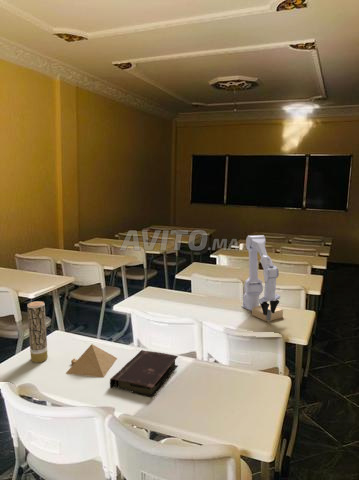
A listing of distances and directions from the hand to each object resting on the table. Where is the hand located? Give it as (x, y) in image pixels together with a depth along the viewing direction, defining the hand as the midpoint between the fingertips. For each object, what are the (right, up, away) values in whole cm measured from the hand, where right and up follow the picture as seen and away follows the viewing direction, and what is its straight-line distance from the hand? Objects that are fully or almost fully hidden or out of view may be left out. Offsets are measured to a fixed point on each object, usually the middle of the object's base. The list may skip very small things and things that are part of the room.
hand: (268, 313), depth 207 cm
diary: (-61, -15, -54) cm, 83 cm away
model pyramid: (-85, -13, -46) cm, 97 cm away
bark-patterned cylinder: (-108, -12, -42) cm, 117 cm away
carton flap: (-3, -4, +5) cm, 7 cm away
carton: (+2, -3, +10) cm, 11 cm away
